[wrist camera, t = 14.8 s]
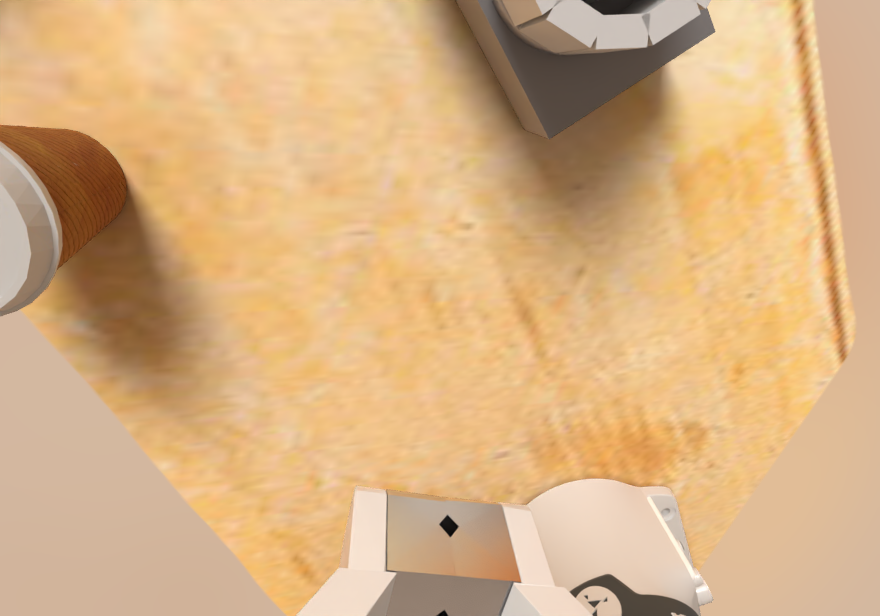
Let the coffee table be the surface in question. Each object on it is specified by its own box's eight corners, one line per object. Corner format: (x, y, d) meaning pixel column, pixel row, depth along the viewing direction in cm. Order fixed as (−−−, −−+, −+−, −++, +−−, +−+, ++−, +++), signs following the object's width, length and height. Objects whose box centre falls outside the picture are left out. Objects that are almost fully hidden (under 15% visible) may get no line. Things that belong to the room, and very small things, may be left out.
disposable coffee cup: (184, 210, 35) (90, 270, 24) (68, 276, 36) (-73, 362, 25) (80, 70, 31) (-87, 65, 20) (-45, 147, 32) (-269, 183, 21)
